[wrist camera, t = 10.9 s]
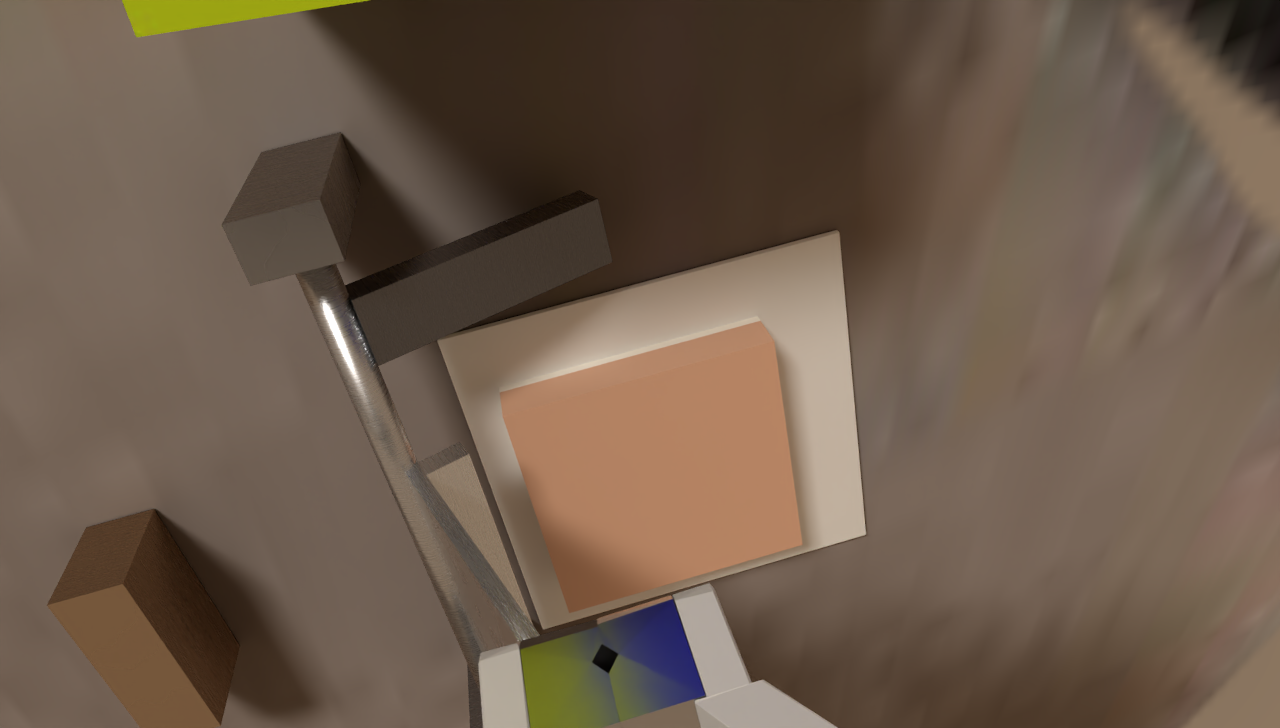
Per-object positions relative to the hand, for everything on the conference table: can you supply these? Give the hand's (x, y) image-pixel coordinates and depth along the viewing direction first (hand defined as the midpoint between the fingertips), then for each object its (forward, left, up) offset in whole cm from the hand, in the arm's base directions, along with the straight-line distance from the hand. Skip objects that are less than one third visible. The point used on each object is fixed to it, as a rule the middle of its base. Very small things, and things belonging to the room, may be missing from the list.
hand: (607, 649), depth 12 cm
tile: (+2, -9, -14) cm, 16 cm away
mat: (+3, -9, -16) cm, 18 cm away
